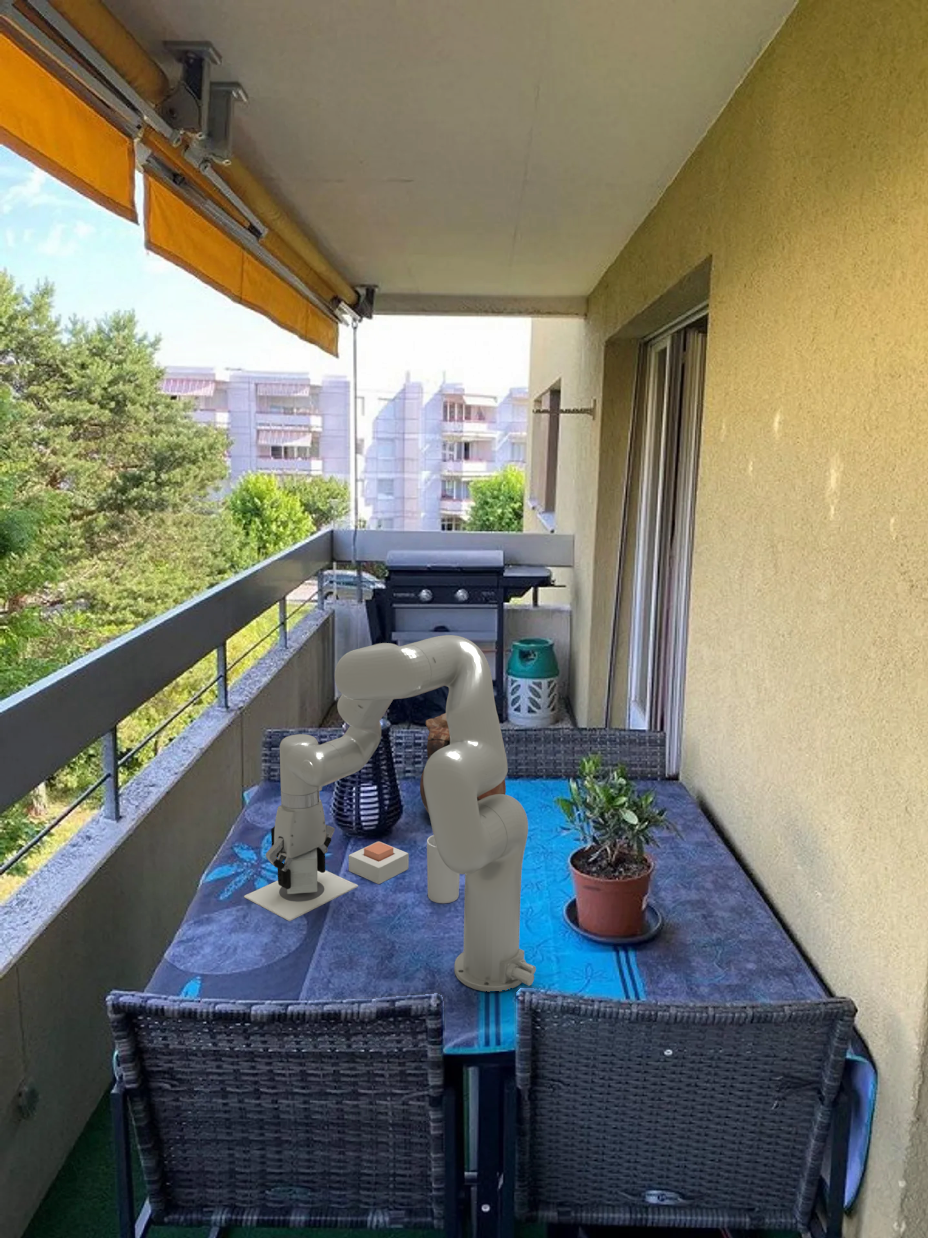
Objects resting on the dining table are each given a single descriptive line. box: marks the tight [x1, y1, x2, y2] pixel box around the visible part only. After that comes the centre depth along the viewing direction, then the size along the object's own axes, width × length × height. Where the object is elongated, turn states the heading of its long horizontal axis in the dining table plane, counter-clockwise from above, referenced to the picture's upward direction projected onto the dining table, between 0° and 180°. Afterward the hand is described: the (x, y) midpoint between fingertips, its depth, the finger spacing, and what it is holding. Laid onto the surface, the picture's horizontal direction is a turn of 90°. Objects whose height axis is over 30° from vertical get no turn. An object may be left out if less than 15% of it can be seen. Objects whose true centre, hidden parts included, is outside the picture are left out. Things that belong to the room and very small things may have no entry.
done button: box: [363, 841, 394, 862], centre depth 188 cm, size 4×4×2 cm
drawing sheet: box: [243, 869, 359, 922], centre depth 179 cm, size 14×18×1 cm
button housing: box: [348, 840, 410, 885], centre depth 188 cm, size 9×9×4 cm
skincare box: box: [287, 848, 318, 894], centre depth 178 cm, size 6×6×7 cm
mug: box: [426, 834, 461, 904], centre depth 178 cm, size 10×7×12 cm, turn 167°
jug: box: [419, 712, 507, 814], centre depth 214 cm, size 22×21×25 cm
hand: (302, 878), depth 178 cm, fingers closed on skincare box, 8 cm apart
